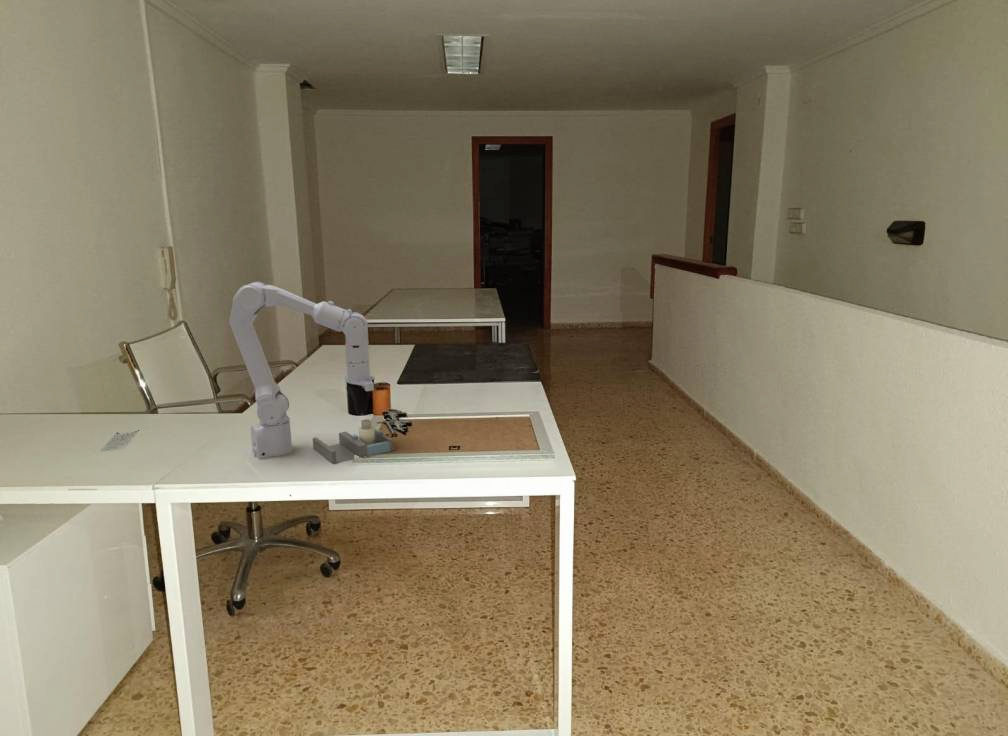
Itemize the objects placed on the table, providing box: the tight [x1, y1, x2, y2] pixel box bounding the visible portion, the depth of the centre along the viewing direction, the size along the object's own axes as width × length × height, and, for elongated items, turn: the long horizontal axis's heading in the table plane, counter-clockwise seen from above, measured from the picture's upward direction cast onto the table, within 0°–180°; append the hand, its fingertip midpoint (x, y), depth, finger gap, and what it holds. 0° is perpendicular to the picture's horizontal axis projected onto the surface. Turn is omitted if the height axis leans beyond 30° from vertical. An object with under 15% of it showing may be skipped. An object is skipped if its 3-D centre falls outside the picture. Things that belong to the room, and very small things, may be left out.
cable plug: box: [358, 419, 375, 445], centre depth 178 cm, size 4×4×7 cm
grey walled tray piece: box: [312, 428, 394, 465], centre depth 176 cm, size 16×14×5 cm
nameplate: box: [376, 408, 413, 436], centre depth 202 cm, size 27×2×10 cm
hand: (361, 413), depth 177 cm, fingers closed
